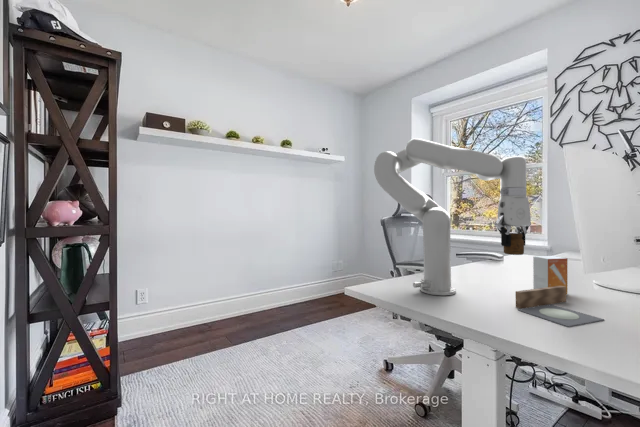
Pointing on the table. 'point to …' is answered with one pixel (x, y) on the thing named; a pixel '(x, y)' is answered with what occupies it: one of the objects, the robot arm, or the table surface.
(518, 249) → the utensil holder
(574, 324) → the mat
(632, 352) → the table surface
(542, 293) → the low wall
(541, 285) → the small box
